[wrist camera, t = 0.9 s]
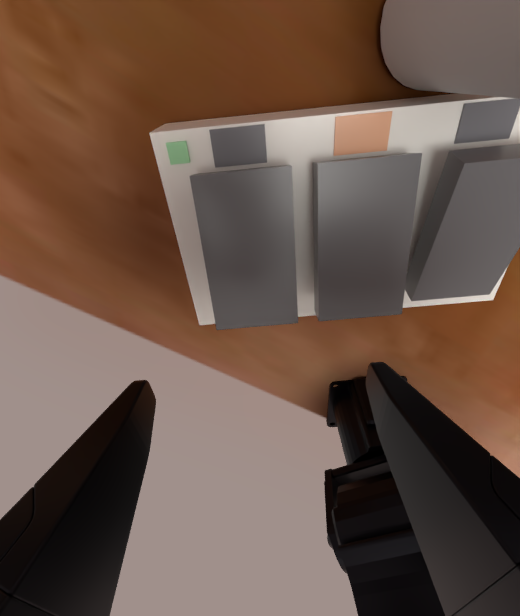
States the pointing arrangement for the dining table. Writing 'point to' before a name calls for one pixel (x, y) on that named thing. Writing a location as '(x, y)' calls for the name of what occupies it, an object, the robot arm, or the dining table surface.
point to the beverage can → (454, 45)
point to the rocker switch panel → (323, 147)
